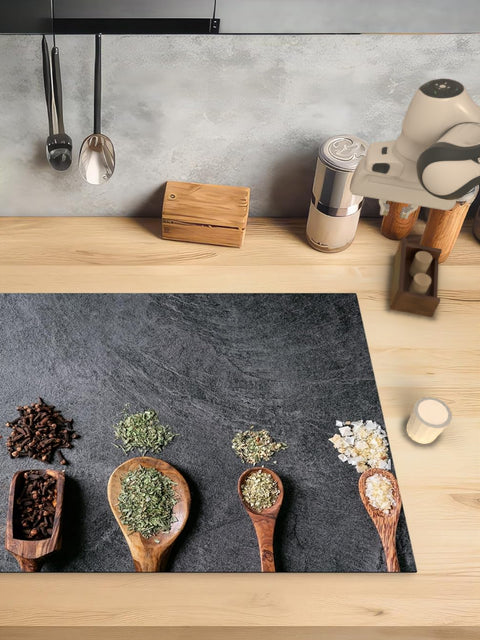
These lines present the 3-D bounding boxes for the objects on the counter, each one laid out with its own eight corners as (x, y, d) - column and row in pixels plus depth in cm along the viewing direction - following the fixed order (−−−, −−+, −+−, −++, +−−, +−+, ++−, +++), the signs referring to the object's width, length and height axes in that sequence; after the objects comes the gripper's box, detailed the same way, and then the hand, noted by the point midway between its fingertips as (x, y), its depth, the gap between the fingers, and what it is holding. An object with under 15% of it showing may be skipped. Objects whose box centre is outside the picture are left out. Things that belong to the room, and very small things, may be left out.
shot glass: (442, 447, 140) (455, 428, 134) (406, 445, 140) (417, 427, 135) (435, 416, 144) (448, 397, 138) (400, 415, 144) (411, 395, 139)
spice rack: (434, 265, 168) (443, 244, 162) (431, 317, 159) (442, 297, 153) (393, 257, 169) (402, 237, 164) (389, 309, 160) (398, 288, 155)
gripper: (471, 159, 139) (446, 213, 150) (361, 141, 142) (345, 196, 154) (471, 180, 135) (445, 234, 147) (358, 162, 139) (342, 216, 150)
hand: (393, 215), depth 150 cm, fingers open, 3 cm apart
